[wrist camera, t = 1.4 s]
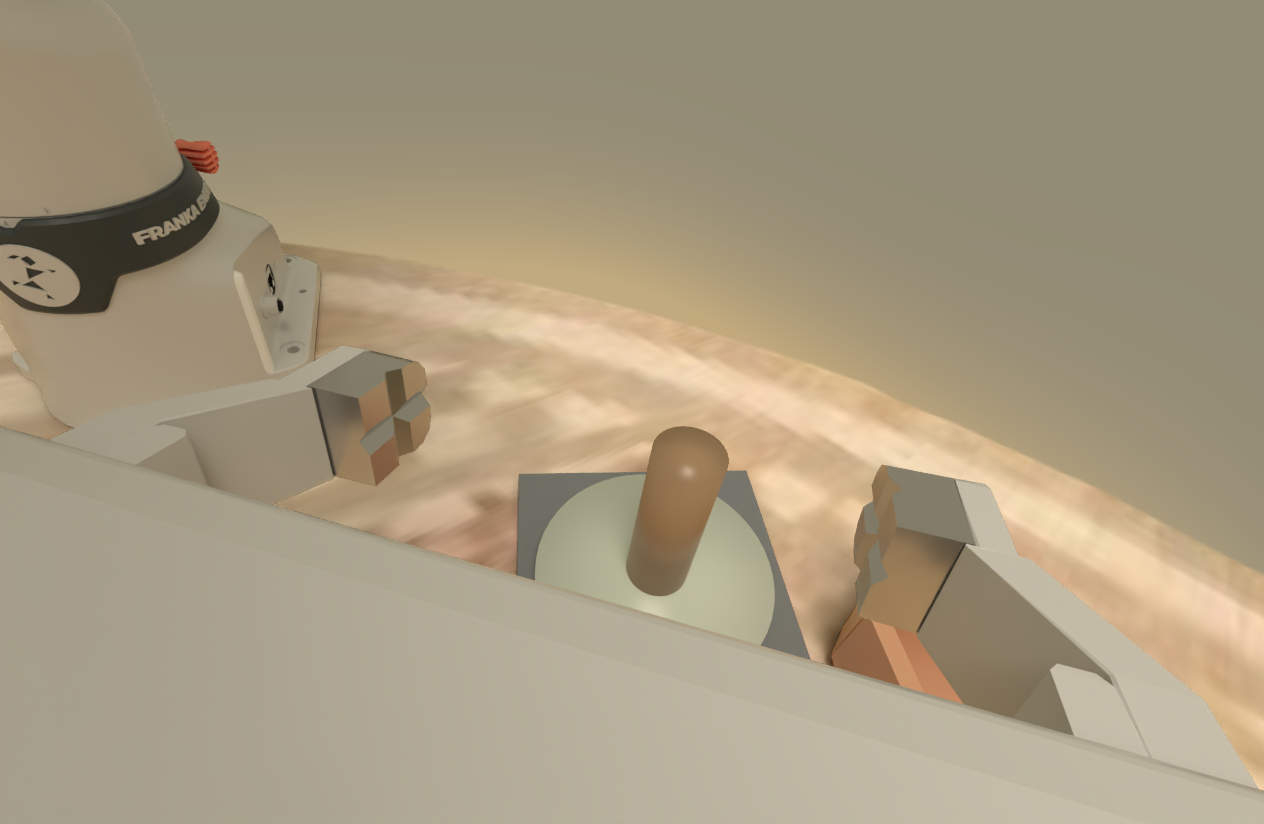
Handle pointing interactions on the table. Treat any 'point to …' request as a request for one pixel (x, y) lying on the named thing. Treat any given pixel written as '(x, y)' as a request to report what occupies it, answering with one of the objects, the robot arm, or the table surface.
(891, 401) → the table surface
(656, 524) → the lid
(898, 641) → the bowl
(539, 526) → the mat
